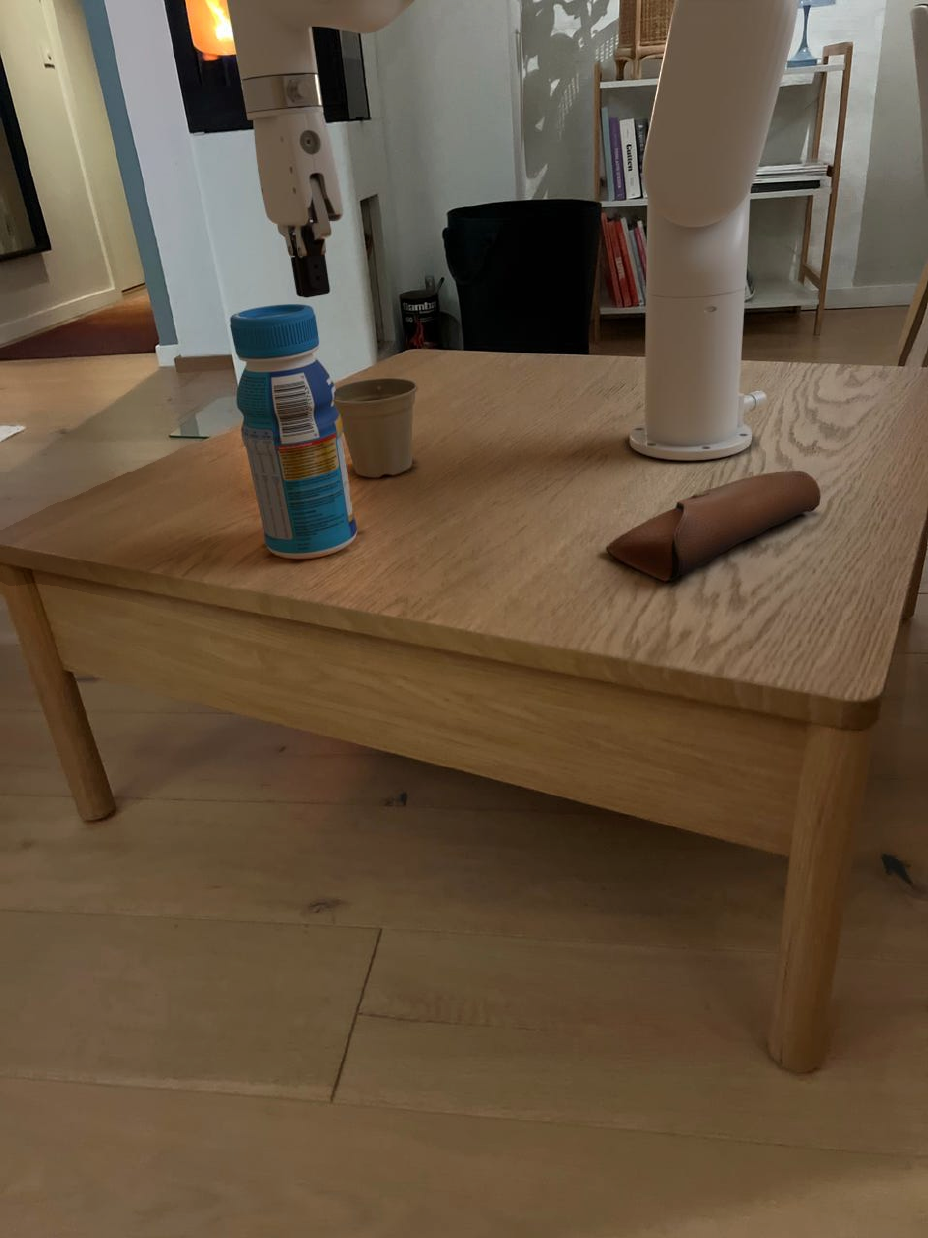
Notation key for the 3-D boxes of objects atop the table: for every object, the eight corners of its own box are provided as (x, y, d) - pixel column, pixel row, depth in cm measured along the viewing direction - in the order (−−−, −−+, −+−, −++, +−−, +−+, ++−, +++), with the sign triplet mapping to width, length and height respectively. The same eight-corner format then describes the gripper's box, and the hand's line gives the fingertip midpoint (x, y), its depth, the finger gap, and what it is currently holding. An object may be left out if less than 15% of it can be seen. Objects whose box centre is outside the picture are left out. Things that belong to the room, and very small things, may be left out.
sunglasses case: (736, 487, 82) (773, 433, 77) (791, 541, 80) (833, 488, 75) (597, 550, 73) (628, 493, 68) (654, 613, 70) (691, 559, 65)
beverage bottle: (247, 558, 79) (195, 322, 70) (295, 521, 86) (255, 302, 76) (331, 566, 76) (290, 320, 67) (375, 527, 83) (343, 299, 73)
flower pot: (414, 483, 92) (404, 399, 88) (327, 484, 94) (314, 402, 90) (435, 453, 100) (427, 375, 96) (355, 455, 102) (343, 378, 98)
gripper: (351, 90, 85) (377, 295, 94) (287, 102, 96) (315, 284, 105) (278, 95, 82) (311, 307, 90) (220, 107, 93) (255, 294, 102)
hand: (313, 294), depth 98 cm, fingers closed
